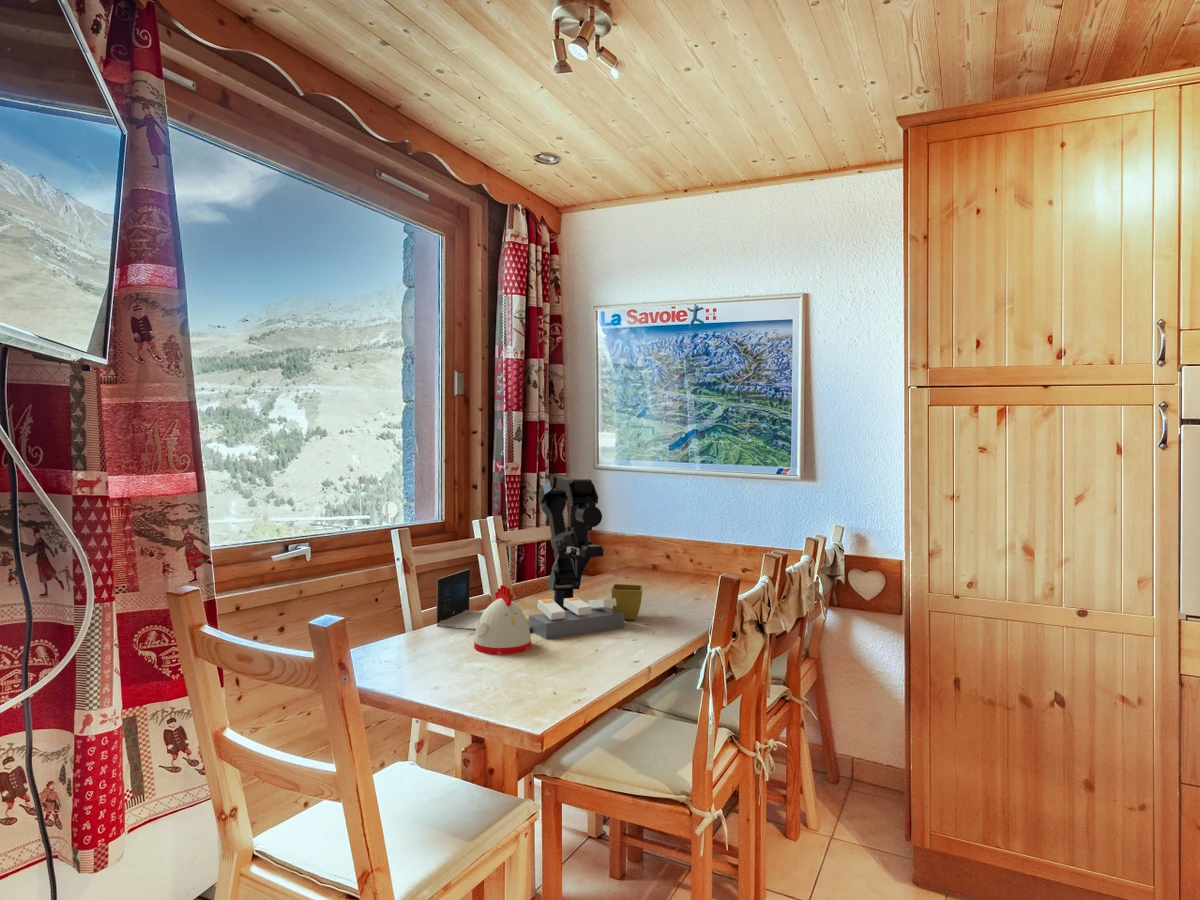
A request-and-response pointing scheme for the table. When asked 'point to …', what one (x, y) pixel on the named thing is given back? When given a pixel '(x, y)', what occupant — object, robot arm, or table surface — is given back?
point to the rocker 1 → (551, 609)
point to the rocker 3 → (602, 602)
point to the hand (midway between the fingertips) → (578, 577)
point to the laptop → (455, 602)
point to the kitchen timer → (502, 627)
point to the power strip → (576, 623)
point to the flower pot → (627, 599)
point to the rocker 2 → (577, 606)
